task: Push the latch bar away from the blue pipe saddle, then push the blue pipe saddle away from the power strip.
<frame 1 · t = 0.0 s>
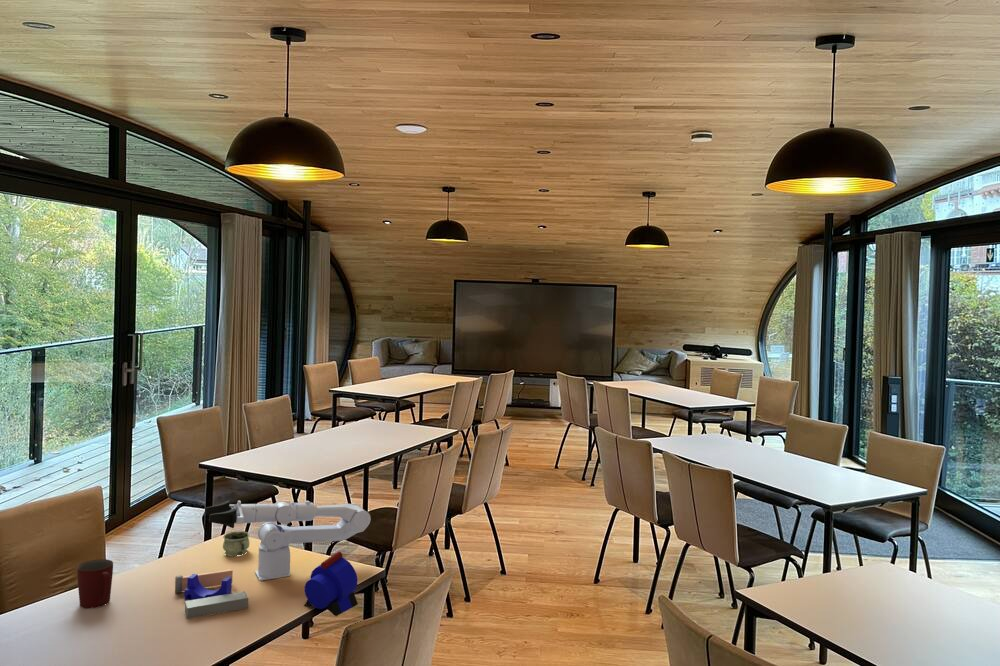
hand: (207, 514, 219), 22 cm above the table, tool horizontal, fingers open, 7 cm apart
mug: (97, 605, 203), on the table
power strip: (216, 609, 203), on the table
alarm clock: (329, 607, 209), on the table
blue pipe saddle: (208, 599, 211), on the table
vessel: (236, 553, 247), on the table
latch bar: (204, 580, 217), point 3 cm above the table, hinge at 0.0°
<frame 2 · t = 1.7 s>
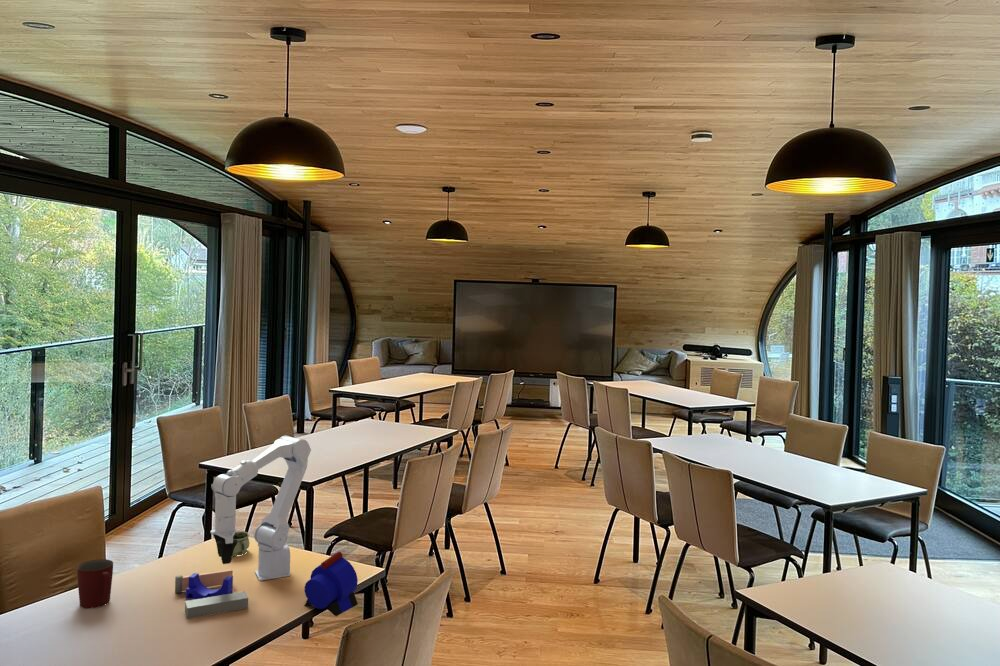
hand: (224, 559, 216), 9 cm above the table, tool pointing down, fingers open, 6 cm apart
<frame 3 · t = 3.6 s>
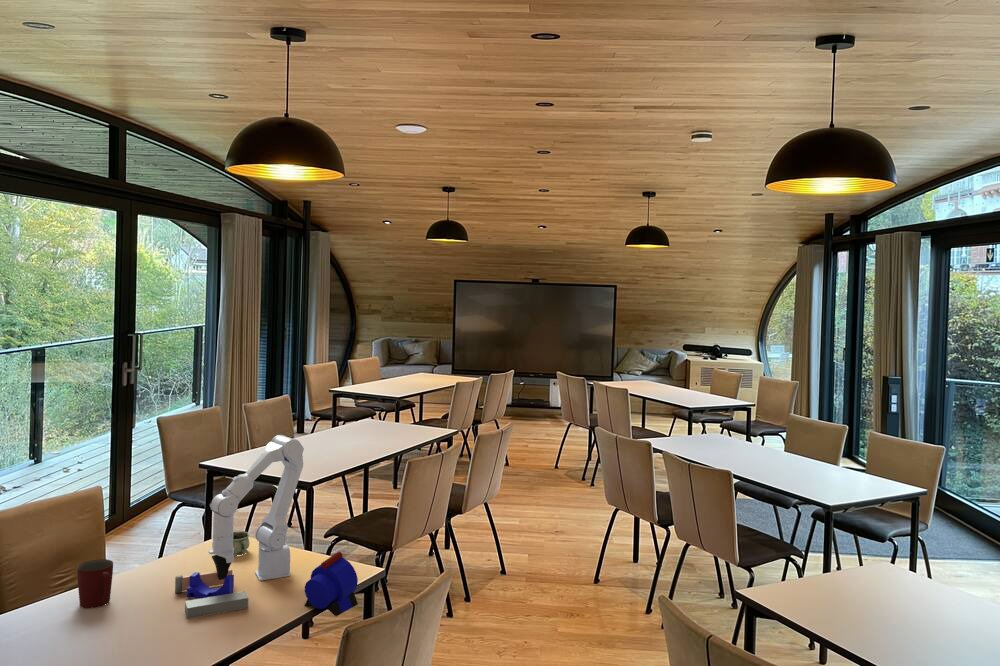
hand: (222, 578, 218), 3 cm above the table, tool pointing down, fingers closed
latch bar: (204, 580, 217), point 3 cm above the table, hinge at 1.2°, touching gripper
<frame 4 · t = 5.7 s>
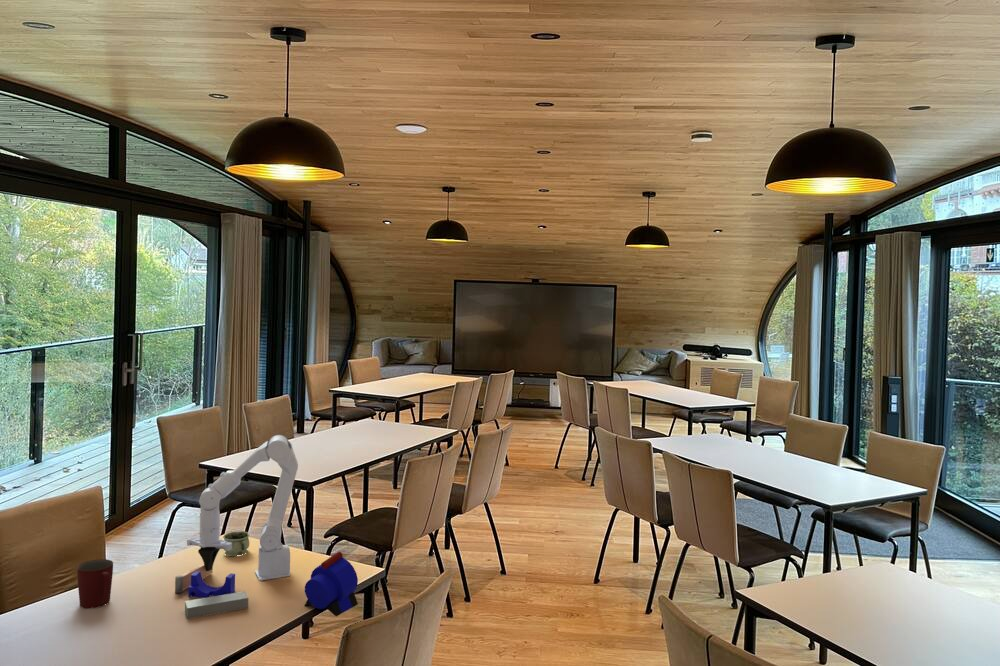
hand: (208, 570, 225), 3 cm above the table, tool pointing down, fingers closed
latch bar: (194, 575, 220), point 3 cm above the table, hinge at 45.5°, touching gripper
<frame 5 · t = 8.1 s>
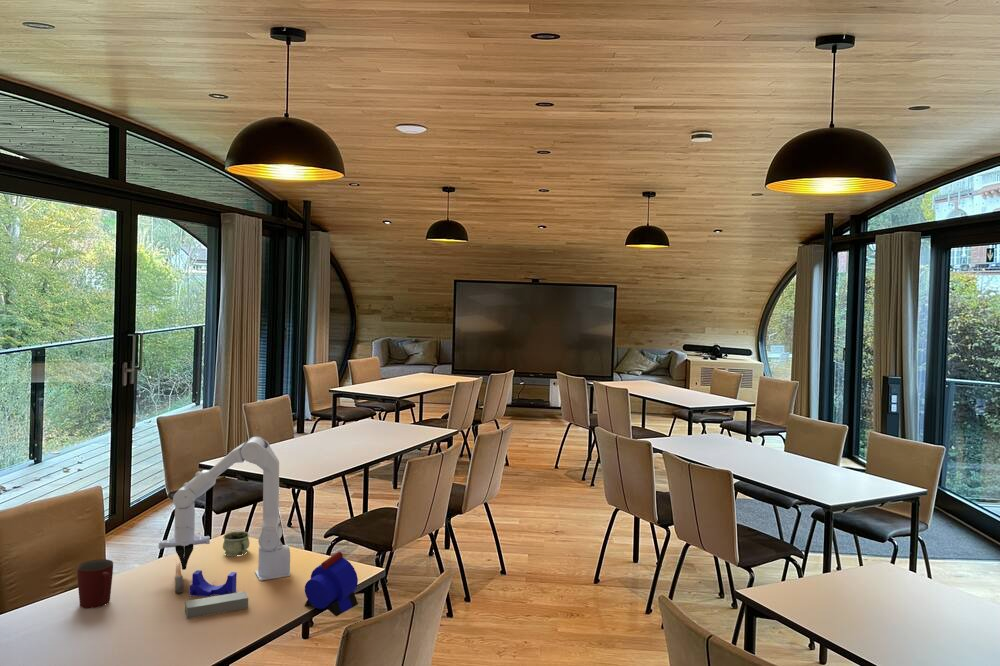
hand: (183, 568, 225), 3 cm above the table, tool pointing down, fingers closed
latch bar: (178, 575, 220), point 3 cm above the table, hinge at 84.8°, touching gripper
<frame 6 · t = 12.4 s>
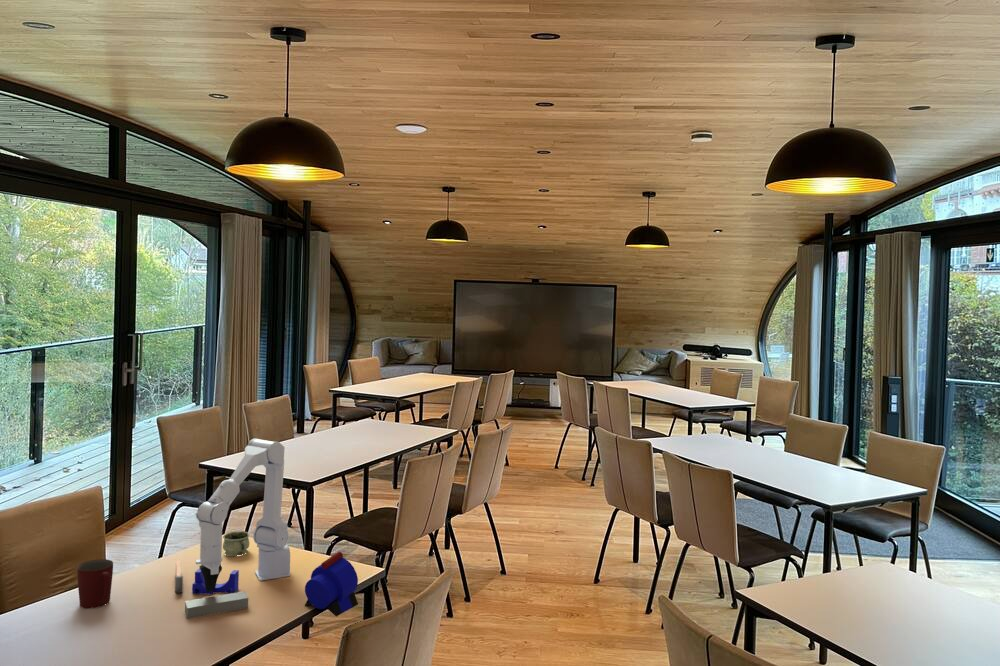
hand: (210, 590, 207), 4 cm above the table, tool pointing down, fingers closed
blue pipe saddle: (215, 592, 216), on the table
latch bar: (178, 575, 220), point 3 cm above the table, hinge at 84.8°
everything else where it was.
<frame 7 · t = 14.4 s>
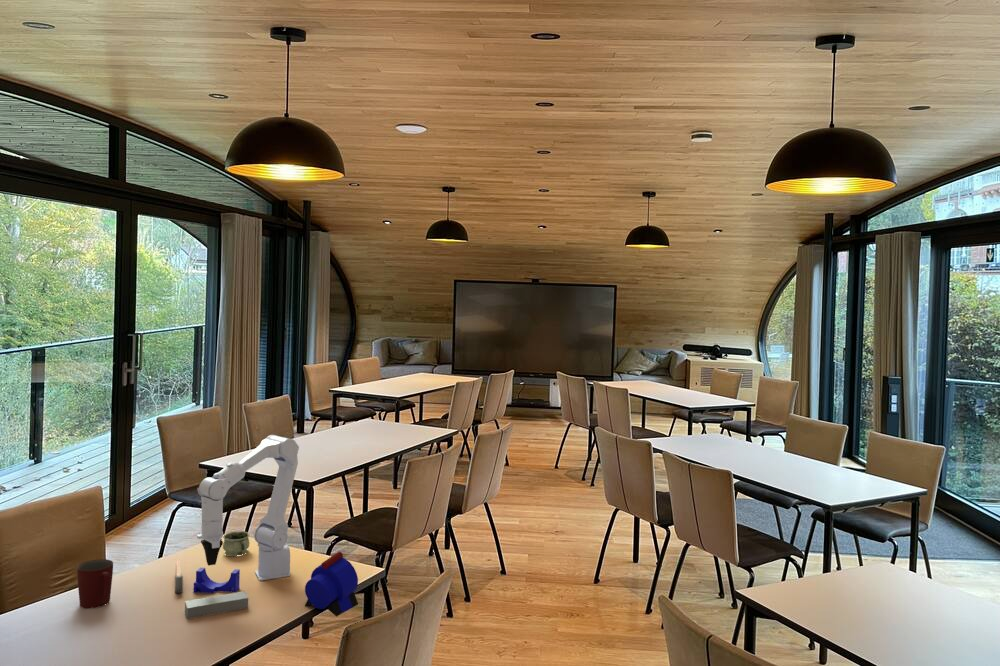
hand: (211, 564, 212), 9 cm above the table, tool pointing down, fingers closed
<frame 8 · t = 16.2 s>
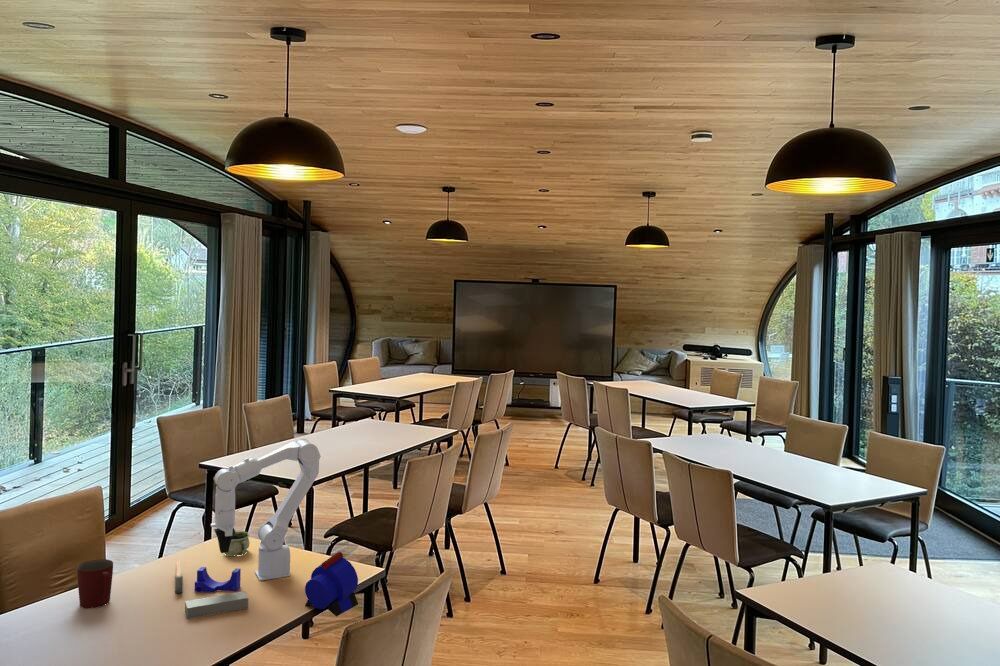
hand: (224, 552, 222), 9 cm above the table, tool pointing down, fingers closed
at the end: latch bar at +85° (first picture: +0°); blue pipe saddle inside the target area (4.8 cm from its centre), on the table; blue pipe saddle tilted 0° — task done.
